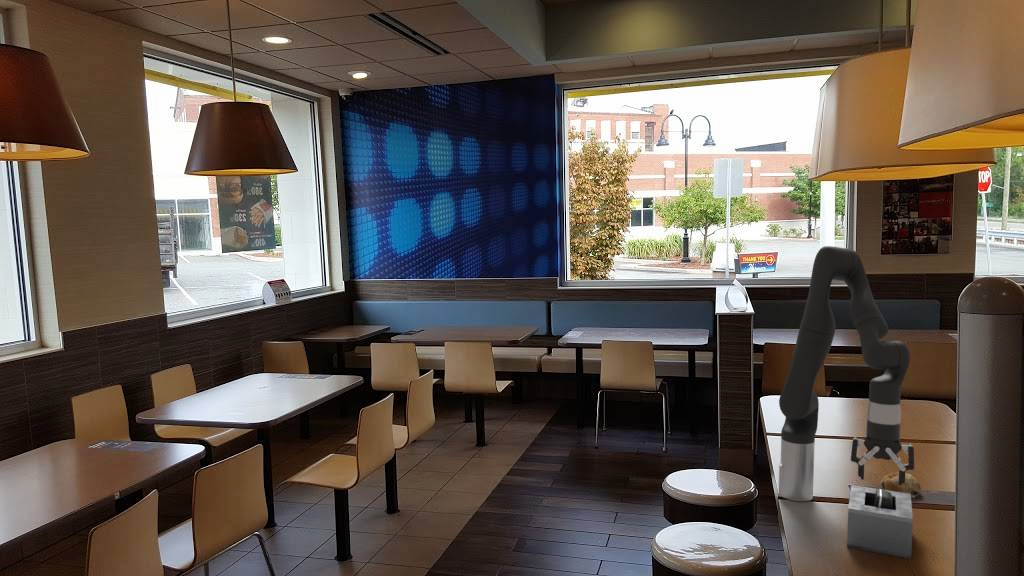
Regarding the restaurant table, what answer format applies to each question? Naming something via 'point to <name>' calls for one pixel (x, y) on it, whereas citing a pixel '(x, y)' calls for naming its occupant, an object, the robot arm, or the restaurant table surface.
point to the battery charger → (883, 499)
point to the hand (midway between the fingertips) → (881, 481)
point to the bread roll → (908, 487)
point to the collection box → (880, 523)
